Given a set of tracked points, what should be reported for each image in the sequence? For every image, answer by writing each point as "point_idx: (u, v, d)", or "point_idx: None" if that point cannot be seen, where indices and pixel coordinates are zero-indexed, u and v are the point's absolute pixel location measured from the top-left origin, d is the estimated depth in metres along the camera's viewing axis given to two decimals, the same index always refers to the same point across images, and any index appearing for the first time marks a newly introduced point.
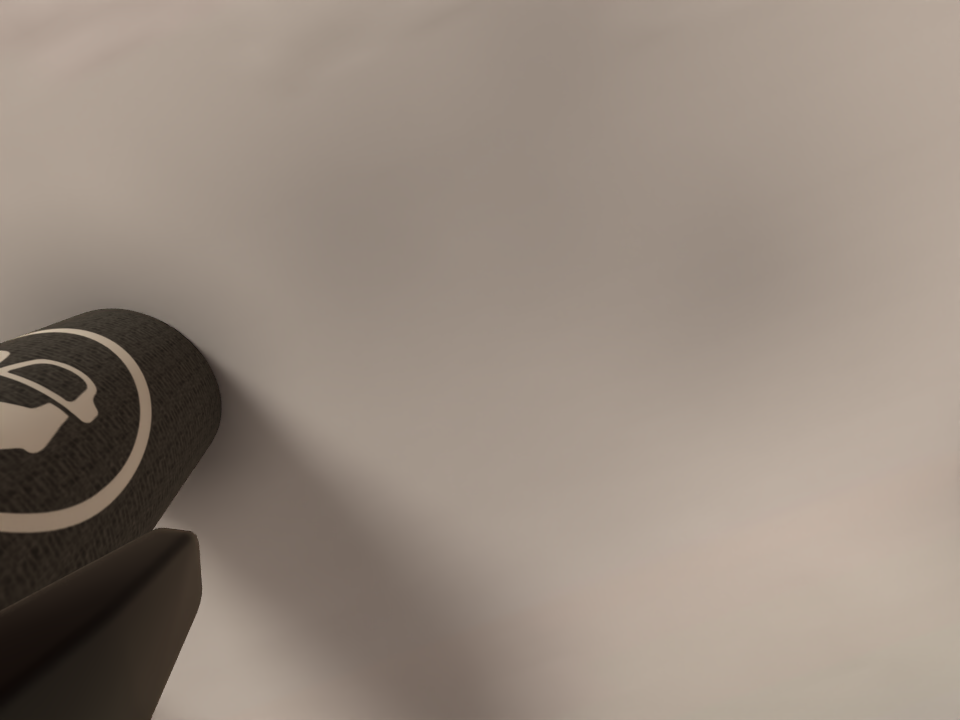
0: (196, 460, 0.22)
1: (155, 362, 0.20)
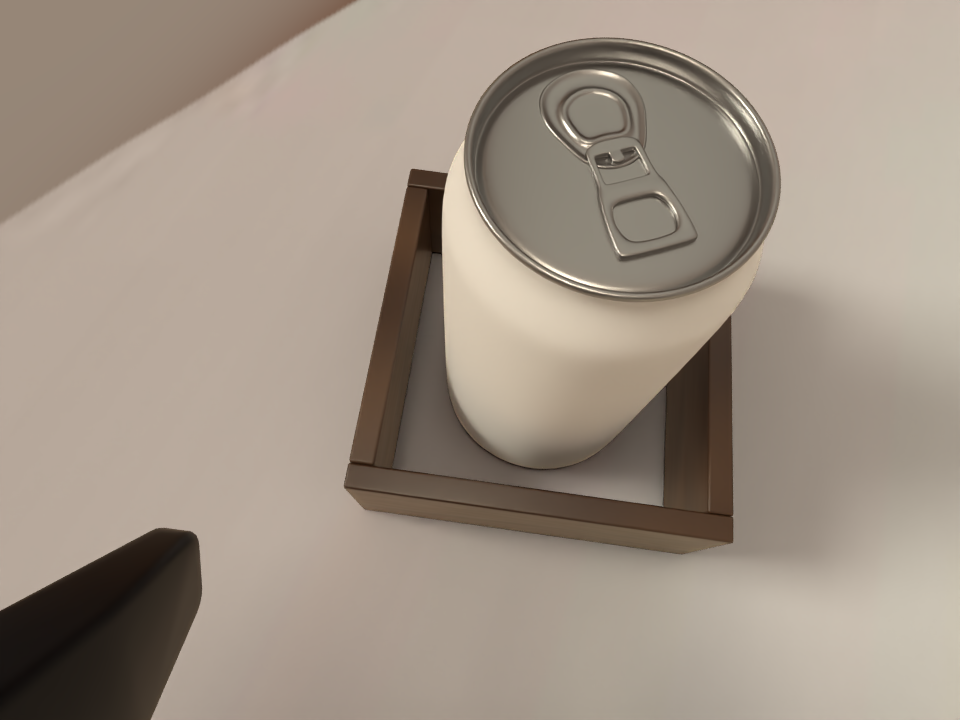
0: None
1: None
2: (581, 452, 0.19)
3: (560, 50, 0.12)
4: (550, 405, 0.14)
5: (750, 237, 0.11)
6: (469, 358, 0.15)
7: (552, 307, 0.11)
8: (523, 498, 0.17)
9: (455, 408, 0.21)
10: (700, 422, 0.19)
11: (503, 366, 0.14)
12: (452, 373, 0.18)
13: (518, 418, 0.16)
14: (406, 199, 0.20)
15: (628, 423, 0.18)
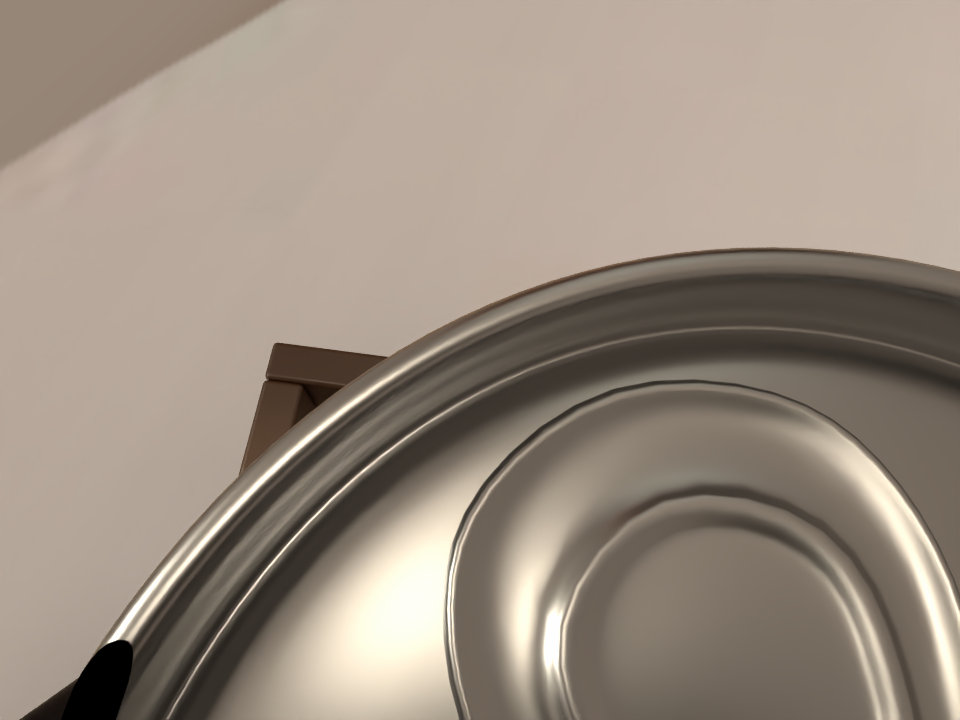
0: None
1: None
2: None
3: (546, 305, 0.03)
4: None
5: None
6: None
7: None
8: None
9: None
10: None
11: None
12: None
13: None
14: (260, 408, 0.11)
15: None
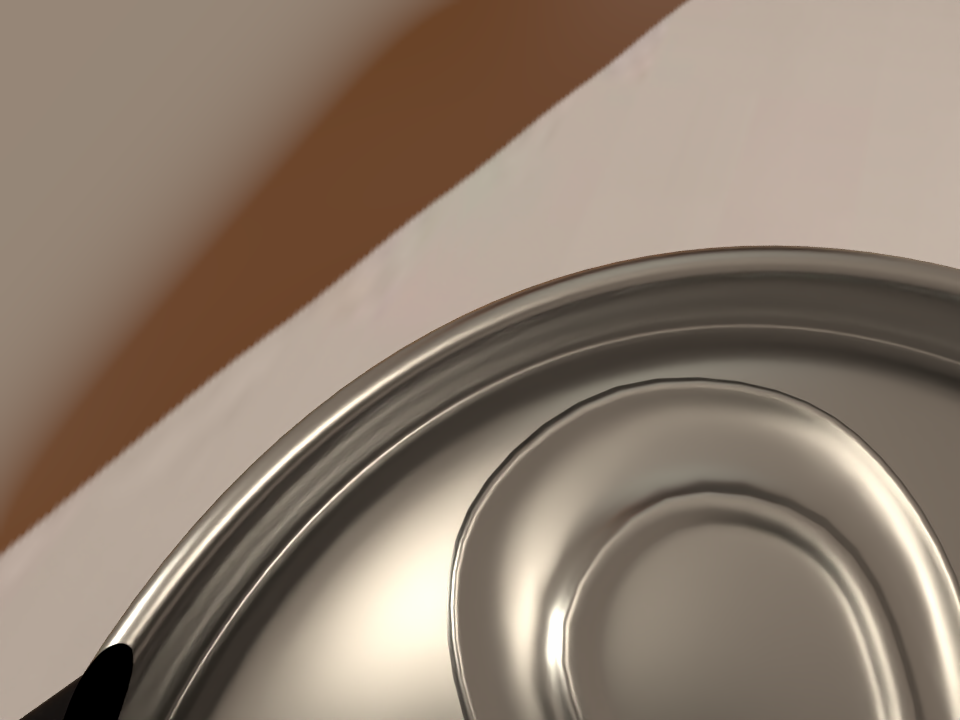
0: None
1: None
2: None
3: (548, 305, 0.03)
4: None
5: None
6: None
7: None
8: None
9: None
10: None
11: None
12: None
13: None
14: None
15: None
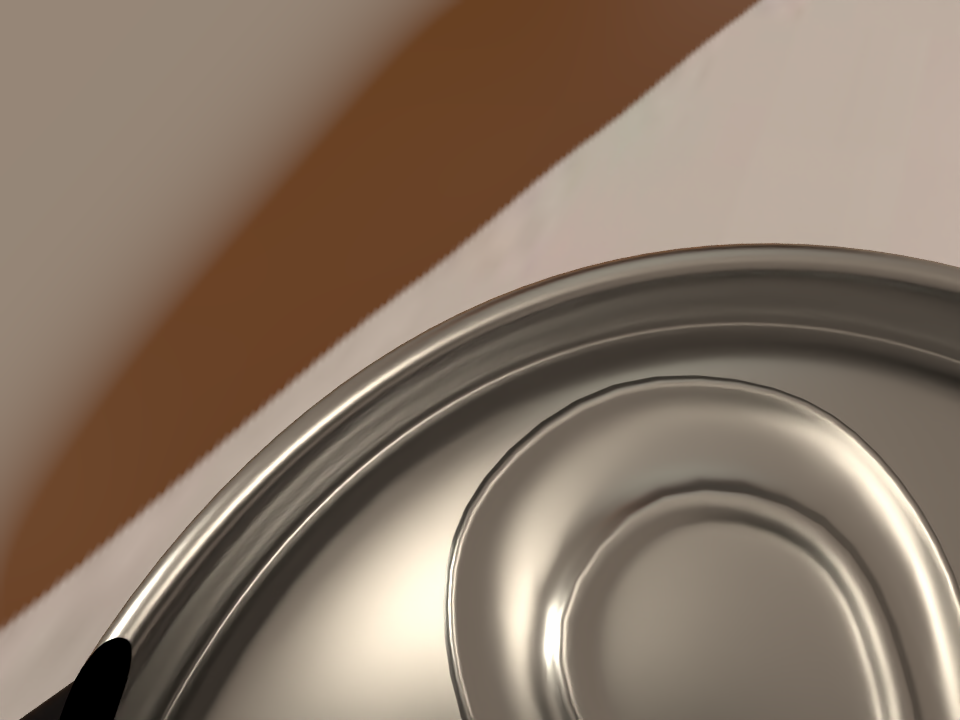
0: None
1: None
2: None
3: (546, 300, 0.03)
4: None
5: None
6: None
7: None
8: None
9: None
10: None
11: None
12: None
13: None
14: None
15: None
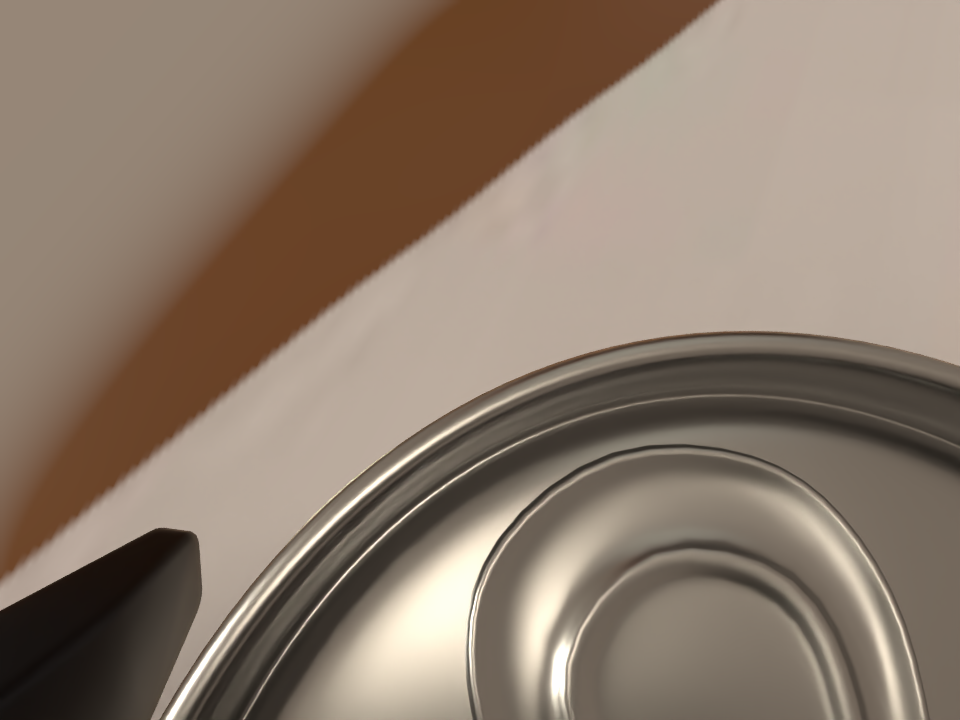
0: None
1: None
2: None
3: (554, 382, 0.03)
4: None
5: None
6: None
7: None
8: None
9: None
10: None
11: None
12: None
13: None
14: None
15: None
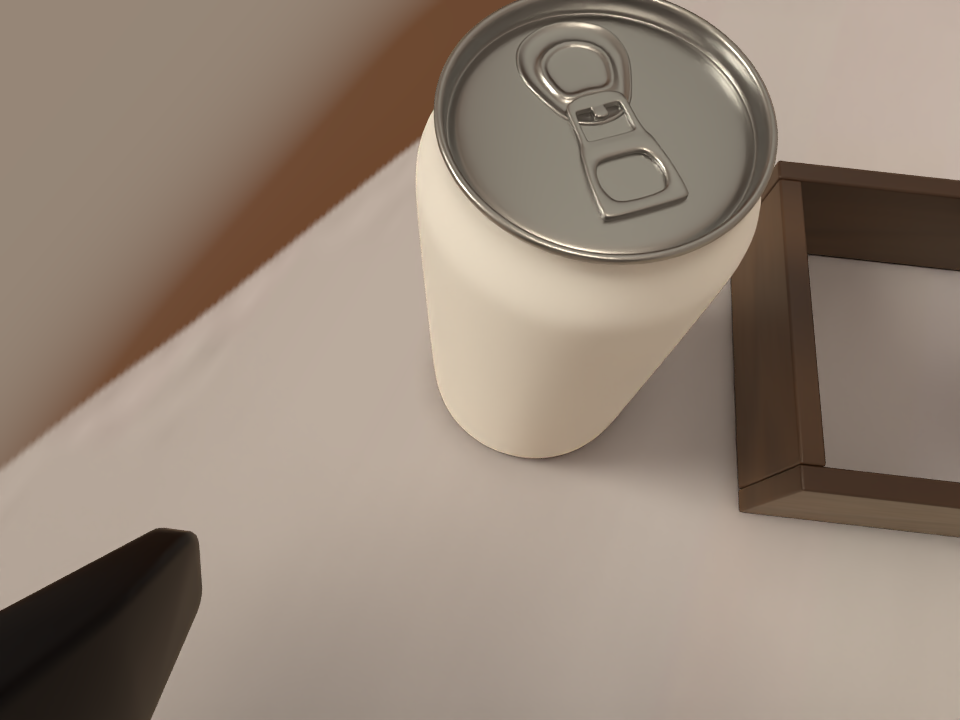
0: None
1: None
2: (575, 439, 0.18)
3: (537, 2, 0.11)
4: (537, 387, 0.14)
5: (745, 194, 0.10)
6: (451, 339, 0.14)
7: (532, 274, 0.10)
8: None
9: (443, 397, 0.20)
10: None
11: (485, 344, 0.13)
12: (437, 358, 0.17)
13: (506, 402, 0.15)
14: (783, 192, 0.20)
15: (623, 407, 0.18)
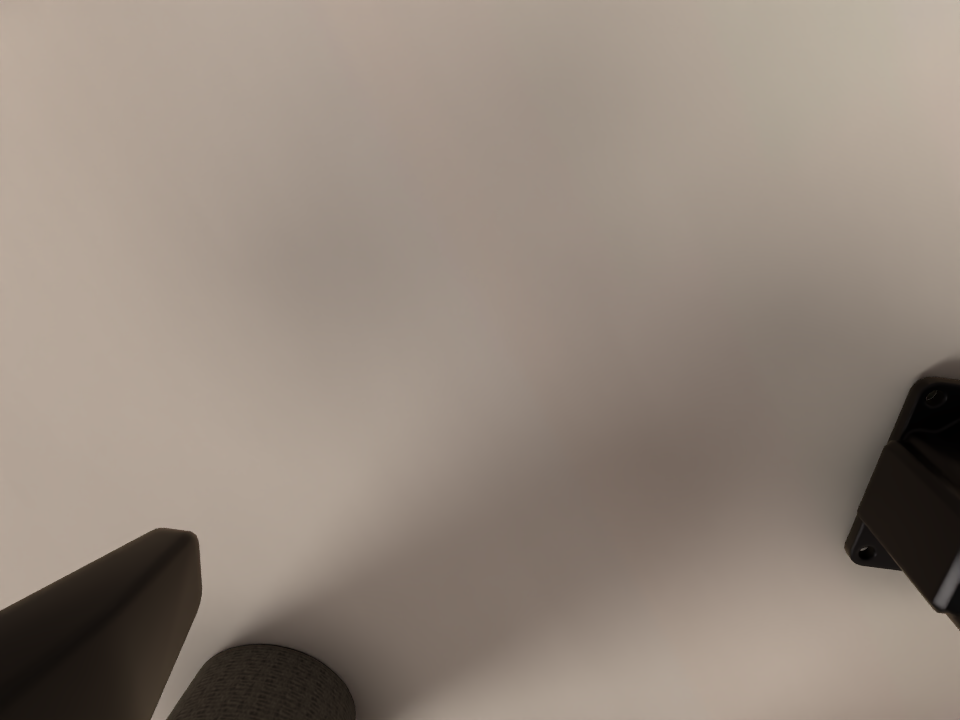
0: (284, 696, 0.22)
1: (177, 710, 0.22)
2: None
3: None
4: None
5: None
6: None
7: None
8: None
9: None
10: None
11: None
12: None
13: None
14: None
15: None
